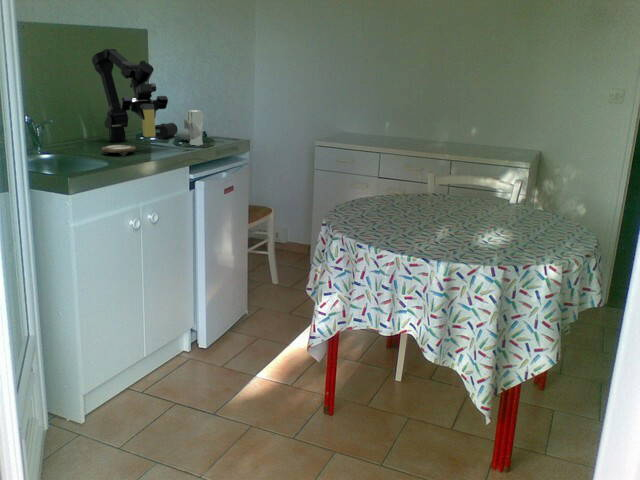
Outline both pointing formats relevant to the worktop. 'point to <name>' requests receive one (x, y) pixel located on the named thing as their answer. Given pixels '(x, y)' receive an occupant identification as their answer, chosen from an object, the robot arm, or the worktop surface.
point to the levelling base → (118, 149)
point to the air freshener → (185, 131)
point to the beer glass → (195, 126)
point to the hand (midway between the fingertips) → (149, 119)
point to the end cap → (166, 130)
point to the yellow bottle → (148, 120)
